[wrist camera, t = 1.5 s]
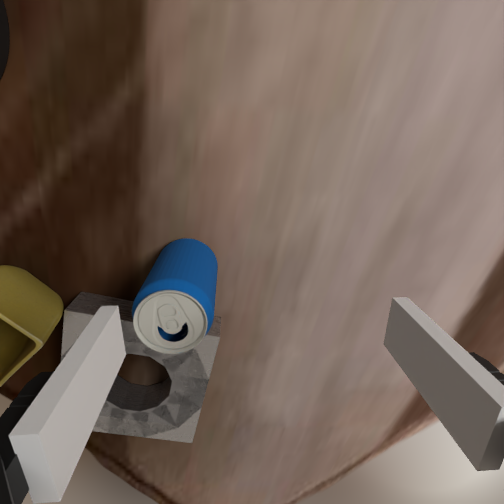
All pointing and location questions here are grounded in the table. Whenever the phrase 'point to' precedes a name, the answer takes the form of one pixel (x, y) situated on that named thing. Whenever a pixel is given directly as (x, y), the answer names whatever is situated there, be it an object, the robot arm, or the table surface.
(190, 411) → the jig
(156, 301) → the beverage can
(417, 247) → the table surface
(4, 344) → the flower pot
